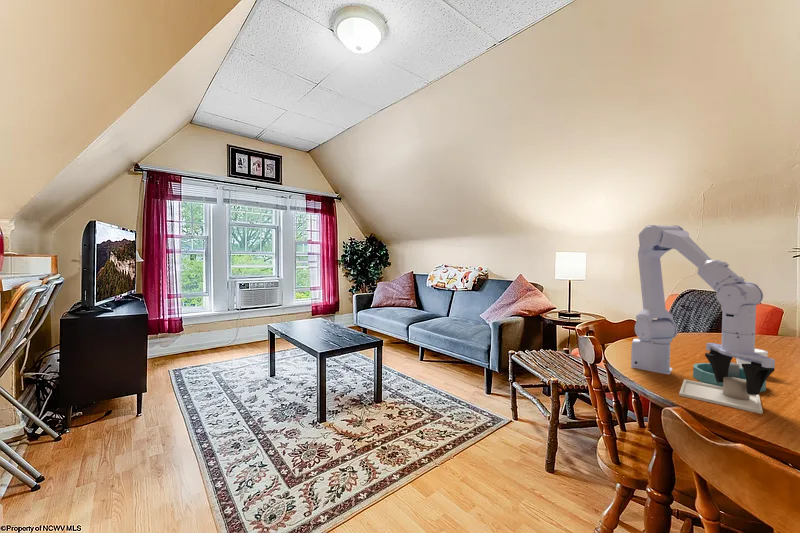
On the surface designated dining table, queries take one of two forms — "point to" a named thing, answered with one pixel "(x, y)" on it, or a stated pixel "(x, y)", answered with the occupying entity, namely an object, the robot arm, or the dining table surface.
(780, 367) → the dining table surface
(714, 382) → the bowl
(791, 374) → the dining table surface
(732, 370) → the charcoal stone
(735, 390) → the brown stone
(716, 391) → the parts tray
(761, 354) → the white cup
